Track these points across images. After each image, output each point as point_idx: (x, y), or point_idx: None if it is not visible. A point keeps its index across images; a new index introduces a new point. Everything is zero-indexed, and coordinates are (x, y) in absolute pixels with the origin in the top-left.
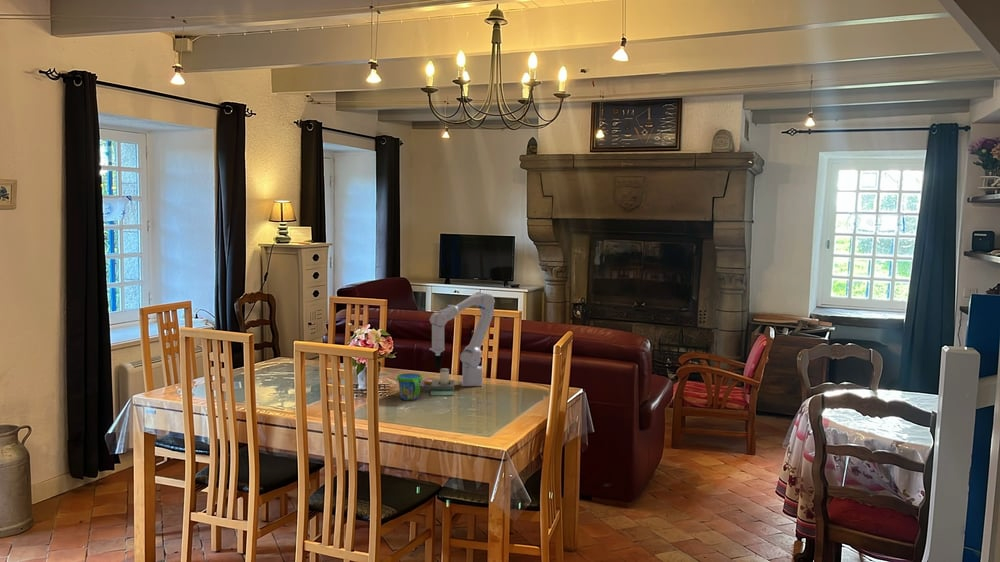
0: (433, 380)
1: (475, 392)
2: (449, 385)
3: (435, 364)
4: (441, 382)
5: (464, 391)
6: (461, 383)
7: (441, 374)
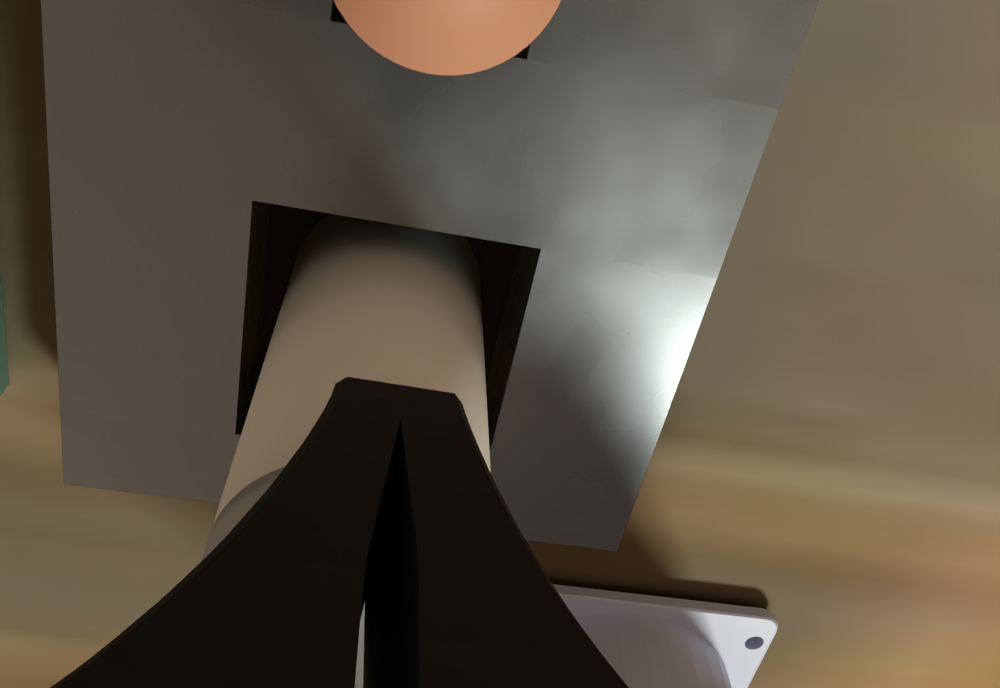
0: (733, 145)
1: (56, 677)
2: (135, 409)
3: (283, 470)
4: (303, 290)
5: (125, 558)
6: (633, 602)
7: (271, 412)
